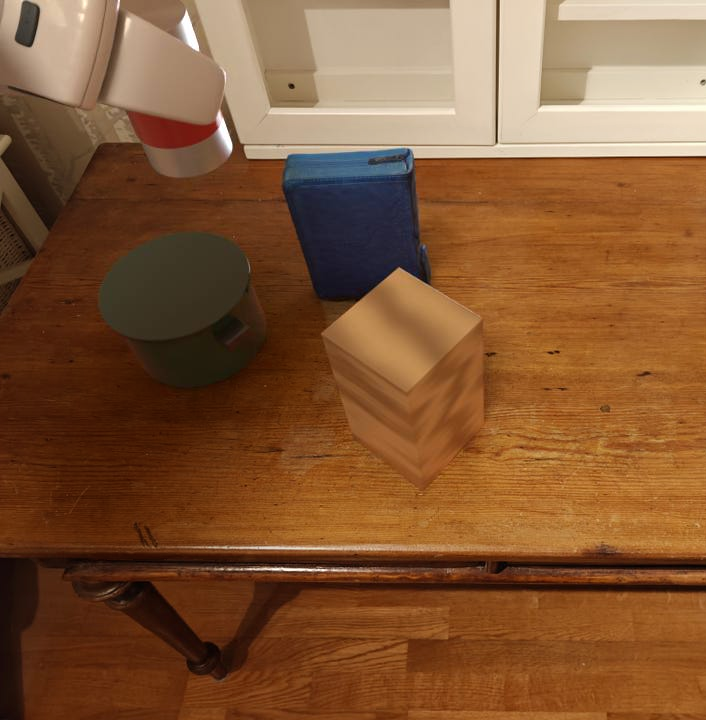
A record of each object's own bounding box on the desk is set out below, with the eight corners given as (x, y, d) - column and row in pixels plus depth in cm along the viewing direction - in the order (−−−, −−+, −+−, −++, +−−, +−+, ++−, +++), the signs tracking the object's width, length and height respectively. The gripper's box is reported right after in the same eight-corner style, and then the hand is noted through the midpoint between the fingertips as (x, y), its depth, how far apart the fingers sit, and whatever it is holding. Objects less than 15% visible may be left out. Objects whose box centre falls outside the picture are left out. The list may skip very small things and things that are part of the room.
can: (183, 190, 53) (123, 52, 44) (132, 157, 55) (66, 20, 47) (250, 148, 56) (206, 11, 47) (198, 118, 58) (148, -17, 50)
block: (423, 491, 71) (406, 392, 56) (353, 438, 75) (320, 333, 60) (484, 425, 76) (483, 318, 61) (415, 378, 79) (398, 267, 65)
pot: (201, 425, 76) (169, 375, 68) (97, 337, 83) (58, 284, 76) (309, 334, 83) (291, 280, 76) (205, 261, 91) (179, 205, 83)
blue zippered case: (431, 271, 89) (419, 138, 73) (432, 302, 86) (419, 170, 70) (318, 277, 89) (281, 144, 73) (315, 308, 86) (275, 177, 70)
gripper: (-145, 16, 42) (64, 83, 55) (90, 115, 36) (263, 165, 49) (-127, -94, 41) (82, 2, 54) (119, -11, 35) (290, 75, 48)
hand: (170, 80), depth 51 cm, fingers closed on can, 6 cm apart
